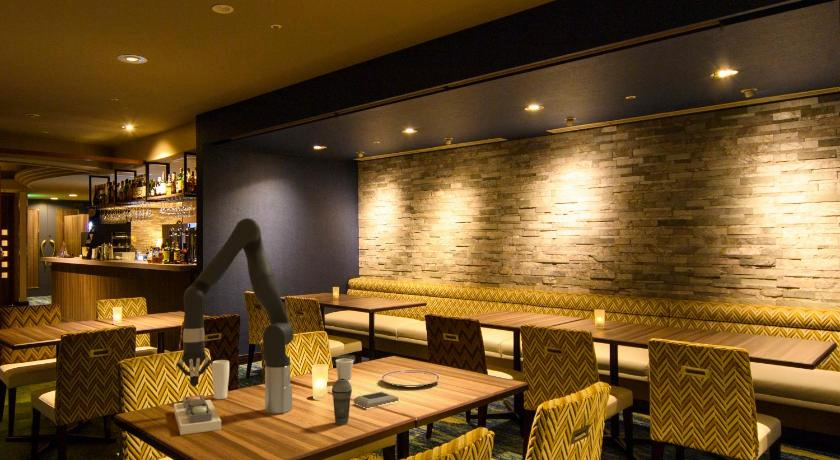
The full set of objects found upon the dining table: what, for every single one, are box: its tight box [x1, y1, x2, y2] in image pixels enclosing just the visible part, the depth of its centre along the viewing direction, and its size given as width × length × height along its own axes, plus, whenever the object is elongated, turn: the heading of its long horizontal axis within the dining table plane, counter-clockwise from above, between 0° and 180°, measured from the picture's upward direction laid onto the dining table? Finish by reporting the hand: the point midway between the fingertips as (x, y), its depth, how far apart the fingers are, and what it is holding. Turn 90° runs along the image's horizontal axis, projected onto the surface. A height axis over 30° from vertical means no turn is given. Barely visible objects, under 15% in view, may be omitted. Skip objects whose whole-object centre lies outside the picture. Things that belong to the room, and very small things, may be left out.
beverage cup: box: [331, 366, 353, 425], centre depth 209 cm, size 7×7×20 cm
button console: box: [173, 394, 222, 436], centre depth 212 cm, size 30×13×6 cm, turn 26°
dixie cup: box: [335, 358, 355, 380], centre depth 270 cm, size 8×8×10 cm
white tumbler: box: [211, 359, 230, 400], centre depth 242 cm, size 7×7×15 cm
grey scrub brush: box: [353, 391, 399, 408], centre depth 234 cm, size 10×4×15 cm
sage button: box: [193, 406, 207, 415], centre depth 203 cm, size 5×5×2 cm
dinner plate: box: [380, 369, 441, 386], centre depth 269 cm, size 27×27×3 cm
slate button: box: [190, 399, 203, 408], centre depth 212 cm, size 5×5×2 cm
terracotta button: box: [187, 395, 200, 401], centre depth 221 cm, size 5×5×2 cm
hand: (194, 386), depth 221 cm, fingers closed
